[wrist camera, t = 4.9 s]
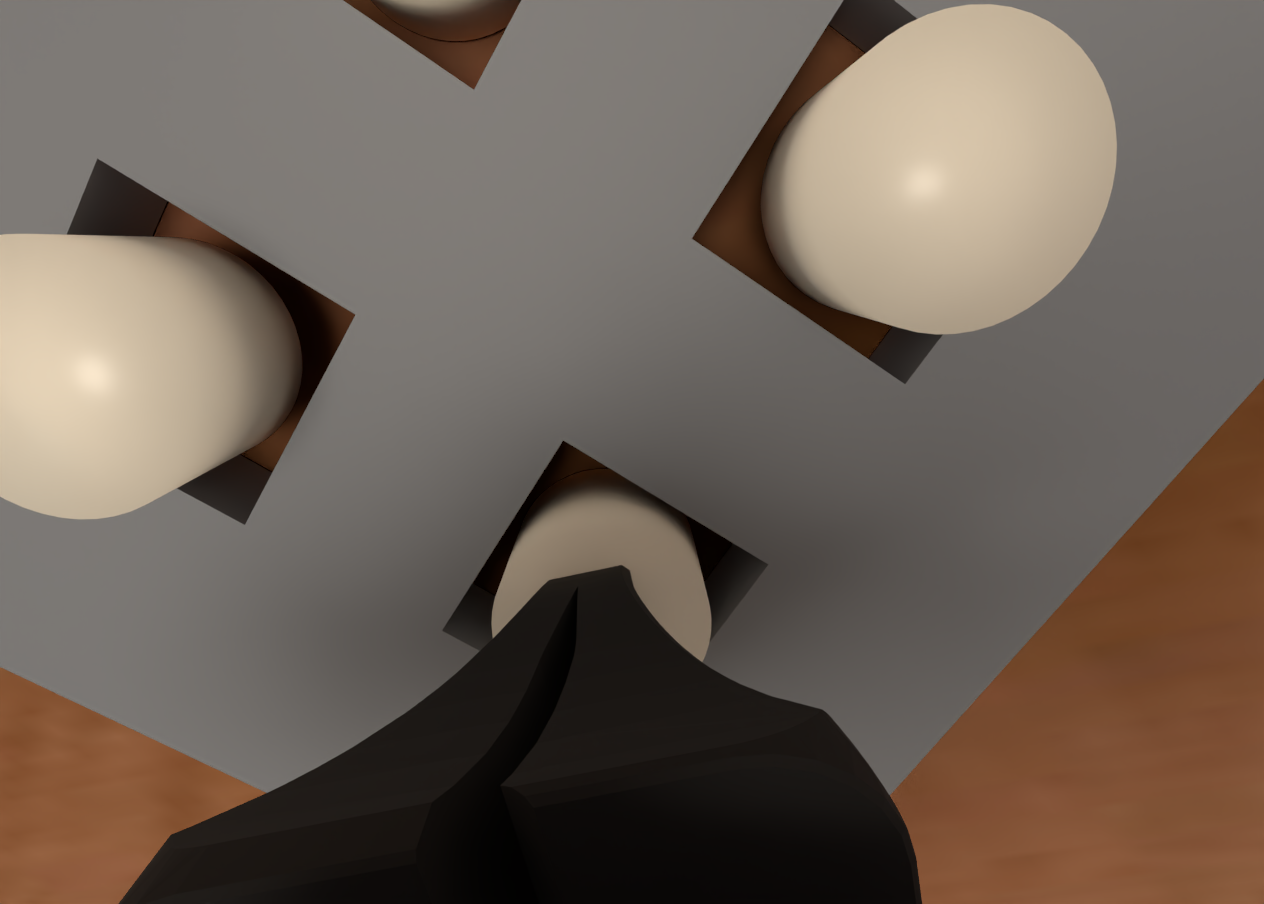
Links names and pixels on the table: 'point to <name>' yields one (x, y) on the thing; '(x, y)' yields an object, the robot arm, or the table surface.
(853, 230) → the button
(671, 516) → the button
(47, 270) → the button
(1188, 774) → the table surface
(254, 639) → the board
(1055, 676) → the table surface
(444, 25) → the button
